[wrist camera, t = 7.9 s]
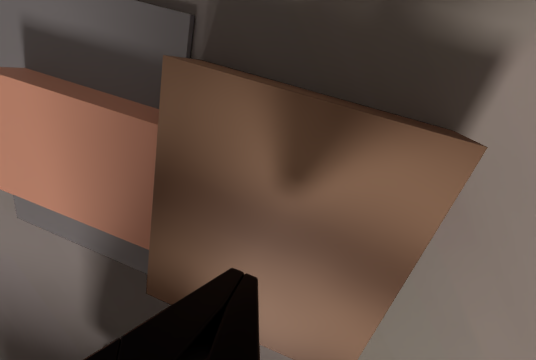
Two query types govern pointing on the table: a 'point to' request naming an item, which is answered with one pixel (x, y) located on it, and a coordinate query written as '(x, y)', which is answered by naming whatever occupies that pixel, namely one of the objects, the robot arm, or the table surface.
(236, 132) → the plate
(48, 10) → the mat
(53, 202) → the block
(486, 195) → the table surface
